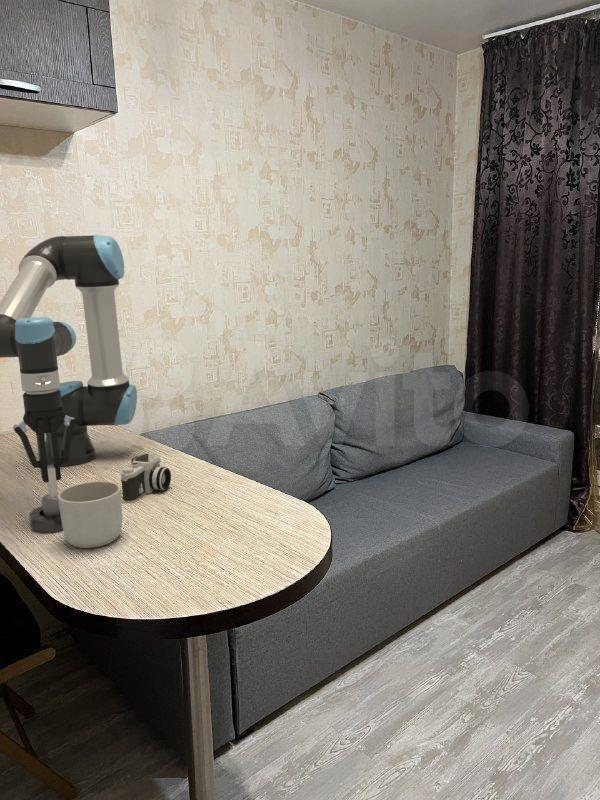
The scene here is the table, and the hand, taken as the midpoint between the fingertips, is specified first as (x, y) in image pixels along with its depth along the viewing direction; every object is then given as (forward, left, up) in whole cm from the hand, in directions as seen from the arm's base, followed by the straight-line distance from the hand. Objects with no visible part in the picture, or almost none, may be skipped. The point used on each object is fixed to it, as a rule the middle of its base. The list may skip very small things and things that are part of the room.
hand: (53, 494), depth 137 cm
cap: (0, 0, -6) cm, 6 cm away
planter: (+13, +5, -7) cm, 16 cm away
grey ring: (0, 0, -7) cm, 7 cm away
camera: (-7, +24, -7) cm, 26 cm away
